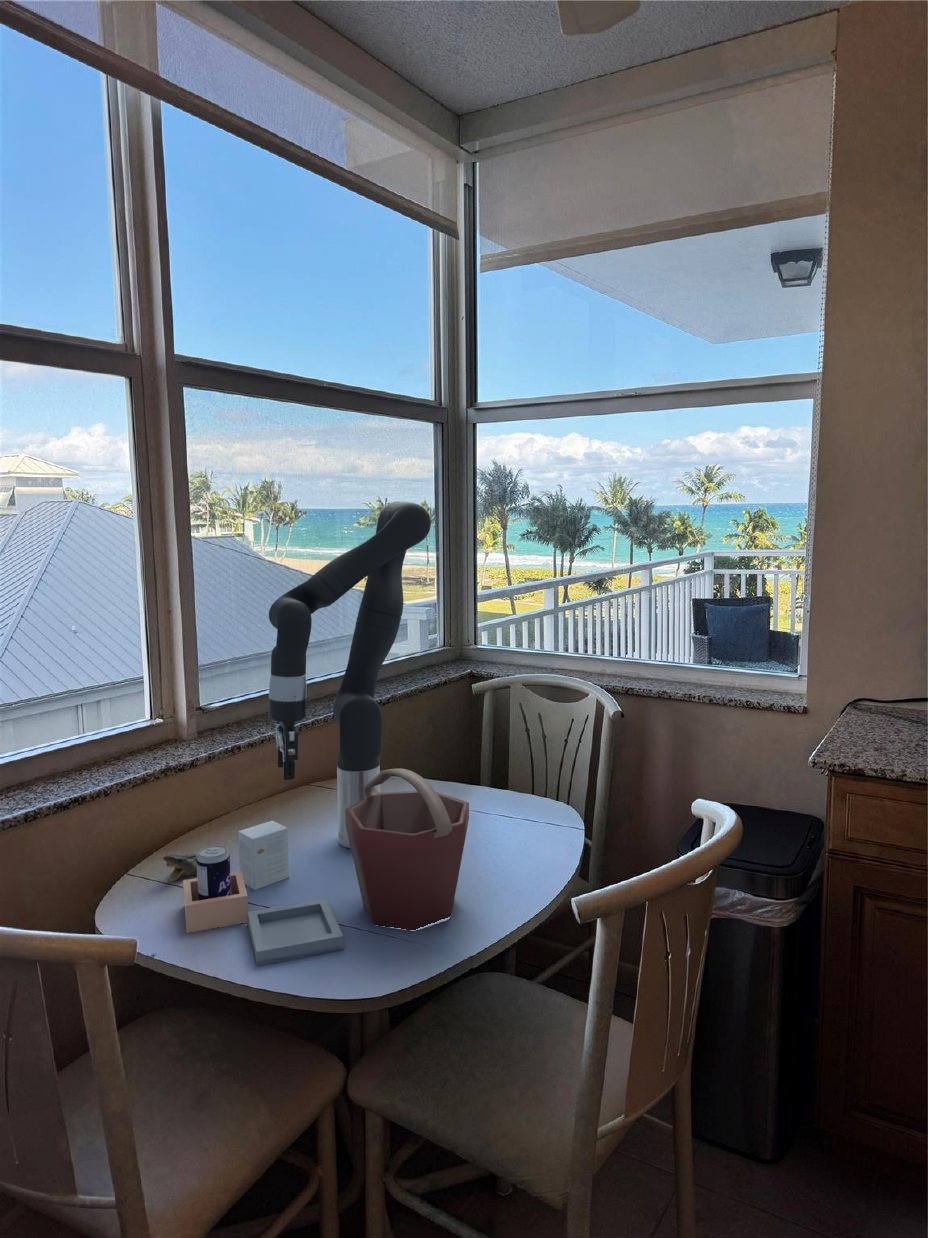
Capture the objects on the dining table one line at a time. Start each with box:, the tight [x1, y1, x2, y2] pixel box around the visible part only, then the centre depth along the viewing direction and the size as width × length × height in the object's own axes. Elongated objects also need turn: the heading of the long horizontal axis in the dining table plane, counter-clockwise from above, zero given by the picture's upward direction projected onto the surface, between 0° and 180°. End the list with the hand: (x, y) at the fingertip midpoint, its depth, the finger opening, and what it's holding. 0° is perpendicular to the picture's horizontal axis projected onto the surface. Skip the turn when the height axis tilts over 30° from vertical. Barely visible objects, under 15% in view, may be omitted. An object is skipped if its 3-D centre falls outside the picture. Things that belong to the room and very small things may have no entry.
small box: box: [237, 820, 290, 891], centre depth 161 cm, size 8×6×10 cm
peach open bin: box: [182, 871, 249, 934], centre depth 148 cm, size 10×10×5 cm
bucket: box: [345, 767, 470, 930], centre depth 149 cm, size 24×22×25 cm
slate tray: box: [247, 898, 345, 967], centre depth 140 cm, size 14×14×2 cm
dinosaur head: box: [162, 853, 198, 883], centre depth 162 cm, size 8×6×7 cm
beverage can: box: [196, 844, 231, 900], centre depth 147 cm, size 6×6×12 cm
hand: (285, 772), depth 170 cm, fingers open, 8 cm apart
